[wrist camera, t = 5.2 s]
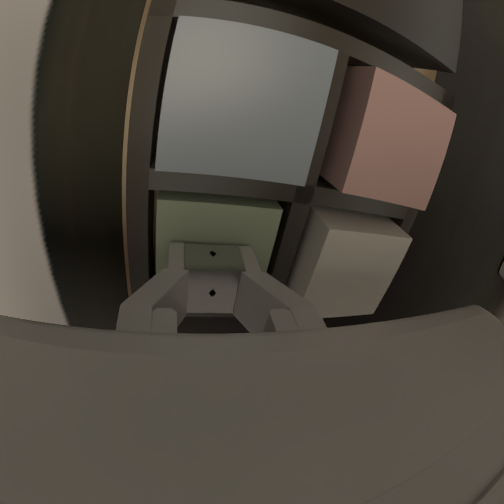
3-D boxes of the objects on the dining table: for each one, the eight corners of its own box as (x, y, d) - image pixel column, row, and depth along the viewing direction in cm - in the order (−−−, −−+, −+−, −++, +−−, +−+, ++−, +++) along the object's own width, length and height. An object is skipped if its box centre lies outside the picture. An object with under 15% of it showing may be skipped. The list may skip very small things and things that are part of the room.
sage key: (268, 188, 11) (283, 210, 9) (249, 272, 13) (258, 301, 12) (162, 179, 10) (157, 199, 8) (159, 268, 12) (156, 298, 10)
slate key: (310, 55, 7) (338, 50, 6) (284, 166, 9) (304, 186, 8) (182, 31, 6) (179, 15, 4) (162, 153, 8) (154, 170, 7)
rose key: (422, 104, 9) (456, 114, 7) (396, 190, 11) (425, 210, 9) (343, 66, 8) (376, 66, 6) (316, 172, 10) (341, 192, 8)
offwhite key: (386, 216, 12) (412, 239, 10) (355, 287, 14) (372, 313, 12) (307, 203, 10) (329, 228, 9) (281, 287, 13) (294, 319, 11)
